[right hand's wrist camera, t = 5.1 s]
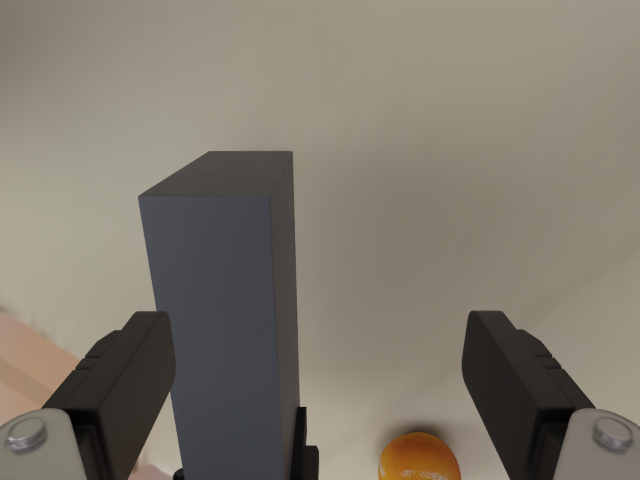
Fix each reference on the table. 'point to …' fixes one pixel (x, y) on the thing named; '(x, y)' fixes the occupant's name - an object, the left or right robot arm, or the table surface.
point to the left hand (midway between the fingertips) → (262, 419)
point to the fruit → (418, 459)
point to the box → (229, 310)
